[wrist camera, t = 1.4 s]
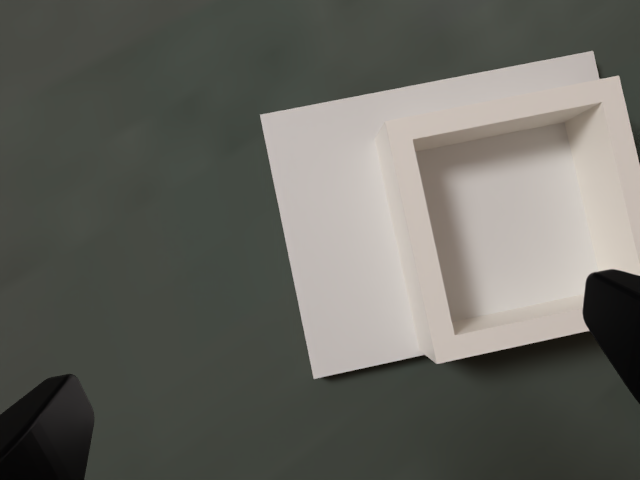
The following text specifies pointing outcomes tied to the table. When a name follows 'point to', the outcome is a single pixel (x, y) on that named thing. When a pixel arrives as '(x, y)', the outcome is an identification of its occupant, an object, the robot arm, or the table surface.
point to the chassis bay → (455, 211)
